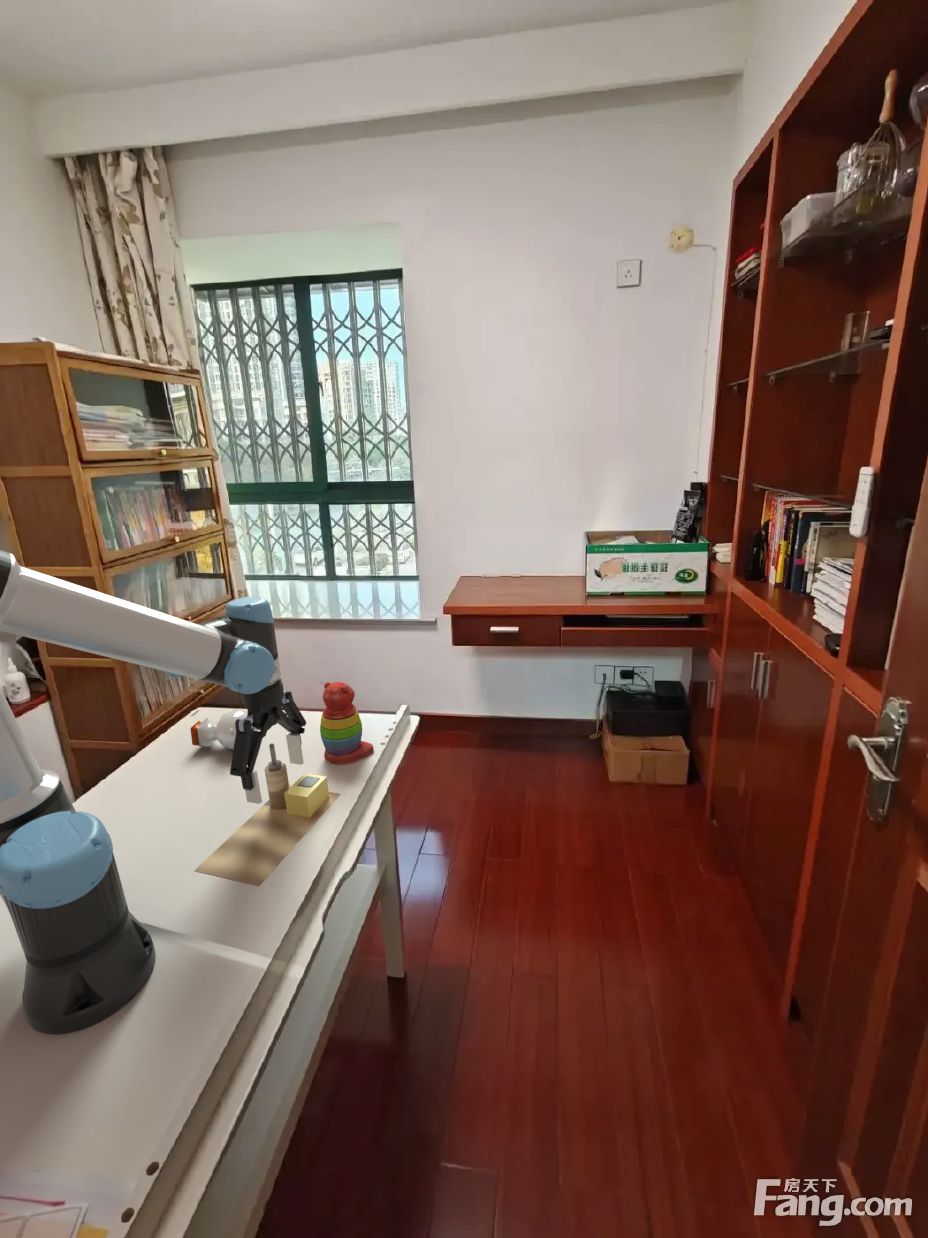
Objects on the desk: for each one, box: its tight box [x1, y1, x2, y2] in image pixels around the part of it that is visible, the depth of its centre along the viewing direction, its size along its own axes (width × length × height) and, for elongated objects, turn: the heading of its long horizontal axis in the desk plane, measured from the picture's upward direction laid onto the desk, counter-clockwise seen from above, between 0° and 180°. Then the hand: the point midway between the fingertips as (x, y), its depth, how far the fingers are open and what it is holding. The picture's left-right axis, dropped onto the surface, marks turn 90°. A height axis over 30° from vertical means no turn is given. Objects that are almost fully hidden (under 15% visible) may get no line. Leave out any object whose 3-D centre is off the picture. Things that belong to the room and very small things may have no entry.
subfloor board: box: [194, 784, 341, 887], centre depth 107 cm, size 26×18×1 cm
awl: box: [264, 742, 290, 809], centre depth 112 cm, size 4×4×13 cm
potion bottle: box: [190, 708, 259, 750], centre depth 138 cm, size 9×10×15 cm
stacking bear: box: [319, 681, 375, 765], centre depth 131 cm, size 11×10×18 cm
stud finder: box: [284, 773, 330, 818], centre depth 113 cm, size 7×5×5 cm
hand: (276, 781), depth 113 cm, fingers open, 13 cm apart
